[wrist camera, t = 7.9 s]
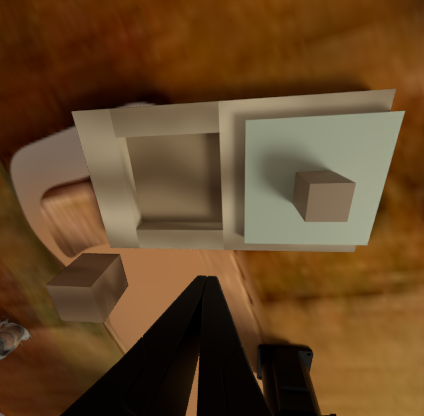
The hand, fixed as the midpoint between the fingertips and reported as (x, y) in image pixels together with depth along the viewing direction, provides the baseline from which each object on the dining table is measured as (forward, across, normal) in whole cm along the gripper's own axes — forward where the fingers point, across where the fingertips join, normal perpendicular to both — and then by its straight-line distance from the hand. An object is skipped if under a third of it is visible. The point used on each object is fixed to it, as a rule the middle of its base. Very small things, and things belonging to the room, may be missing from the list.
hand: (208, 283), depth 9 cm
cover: (+9, -7, -2) cm, 11 cm away
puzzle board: (+11, 0, -2) cm, 11 cm away
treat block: (+11, +14, +9) cm, 20 cm away
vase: (+11, +29, +19) cm, 37 cm away
